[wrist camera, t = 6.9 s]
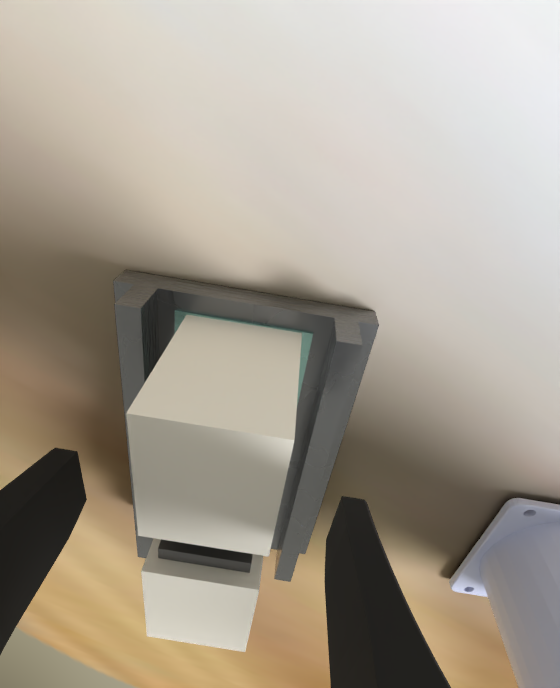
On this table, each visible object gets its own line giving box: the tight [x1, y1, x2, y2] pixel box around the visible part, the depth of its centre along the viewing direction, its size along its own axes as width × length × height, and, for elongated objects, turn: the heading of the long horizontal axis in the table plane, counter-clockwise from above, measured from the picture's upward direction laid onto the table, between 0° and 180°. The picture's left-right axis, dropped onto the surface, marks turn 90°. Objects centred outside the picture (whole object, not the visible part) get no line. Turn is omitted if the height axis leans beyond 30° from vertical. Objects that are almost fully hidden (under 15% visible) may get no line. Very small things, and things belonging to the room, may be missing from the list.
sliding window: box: [113, 270, 379, 582], centre depth 17 cm, size 9×14×2 cm, turn 172°
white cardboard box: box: [126, 315, 302, 556], centre depth 13 cm, size 4×6×5 cm
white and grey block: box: [141, 538, 263, 652], centre depth 16 cm, size 4×6×5 cm
